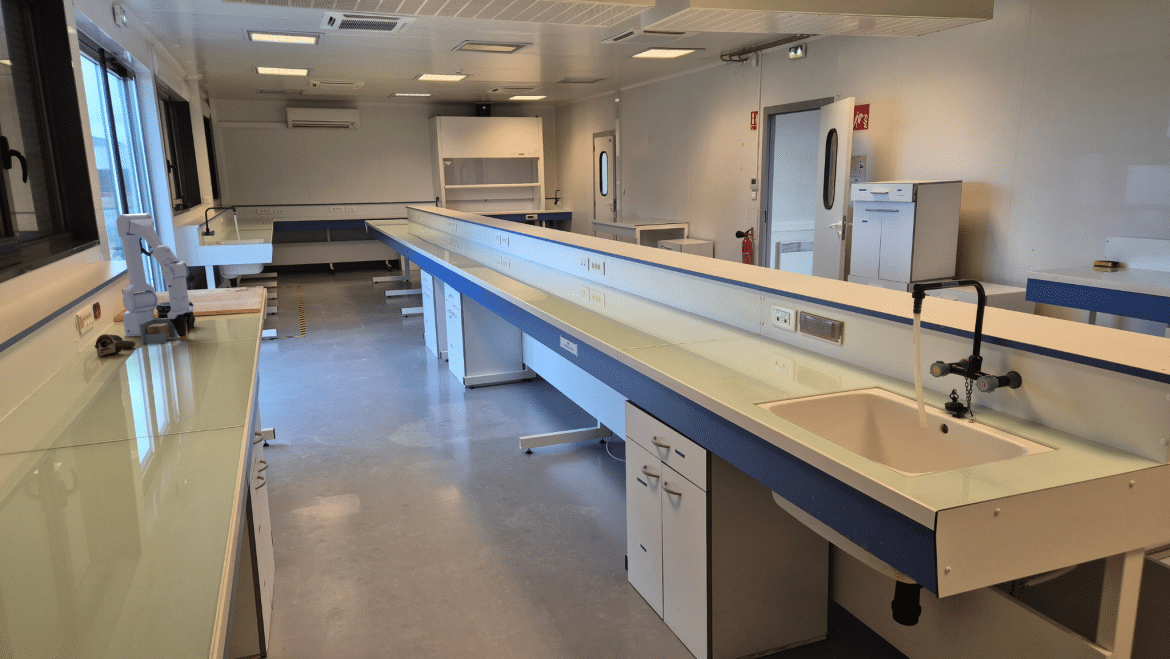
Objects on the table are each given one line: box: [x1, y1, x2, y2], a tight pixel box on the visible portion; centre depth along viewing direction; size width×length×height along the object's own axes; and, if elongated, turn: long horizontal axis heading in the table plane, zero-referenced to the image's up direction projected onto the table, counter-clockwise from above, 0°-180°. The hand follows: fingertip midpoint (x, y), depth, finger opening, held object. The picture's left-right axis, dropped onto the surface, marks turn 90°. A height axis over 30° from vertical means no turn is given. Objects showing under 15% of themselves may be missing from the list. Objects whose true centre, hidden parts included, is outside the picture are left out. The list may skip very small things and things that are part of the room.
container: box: [155, 300, 196, 329], centre depth 278 cm, size 13×13×10 cm
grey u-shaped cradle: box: [139, 318, 179, 345], centre depth 257 cm, size 8×10×7 cm
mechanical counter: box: [94, 333, 136, 357], centre depth 240 cm, size 7×13×10 cm
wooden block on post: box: [147, 322, 190, 341], centre depth 258 cm, size 12×5×6 cm, turn 93°
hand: (183, 335), depth 258 cm, fingers closed on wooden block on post, 2 cm apart
